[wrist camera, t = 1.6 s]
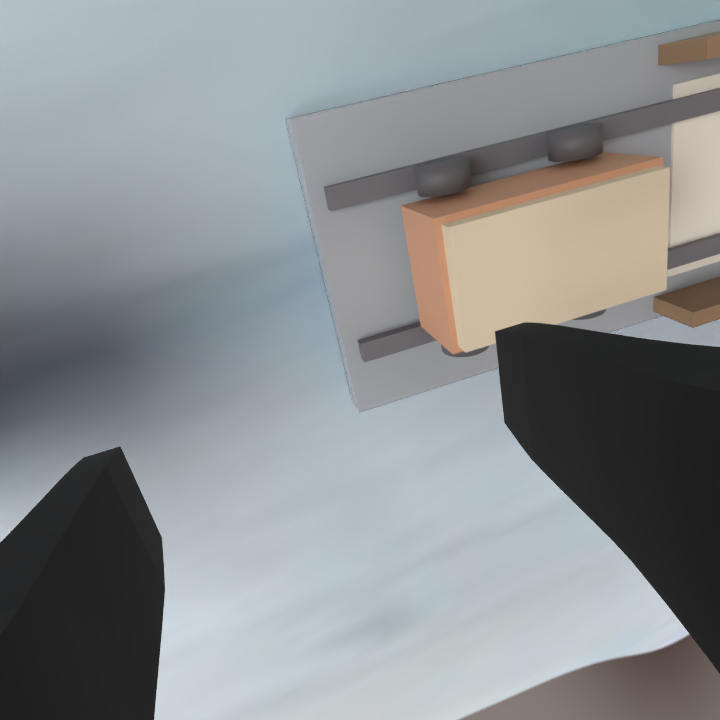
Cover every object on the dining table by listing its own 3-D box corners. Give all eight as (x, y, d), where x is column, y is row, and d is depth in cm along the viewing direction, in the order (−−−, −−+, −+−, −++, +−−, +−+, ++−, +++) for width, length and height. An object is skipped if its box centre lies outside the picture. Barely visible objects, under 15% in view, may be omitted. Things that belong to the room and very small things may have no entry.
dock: (285, 118, 18) (303, 119, 15) (854, -12, 21) (951, -31, 18) (352, 400, 22) (375, 439, 19) (816, 253, 25) (891, 269, 23)
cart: (390, 170, 17) (434, 181, 14) (595, 119, 19) (678, 118, 15) (420, 348, 20) (464, 391, 17) (599, 293, 21) (670, 324, 18)
